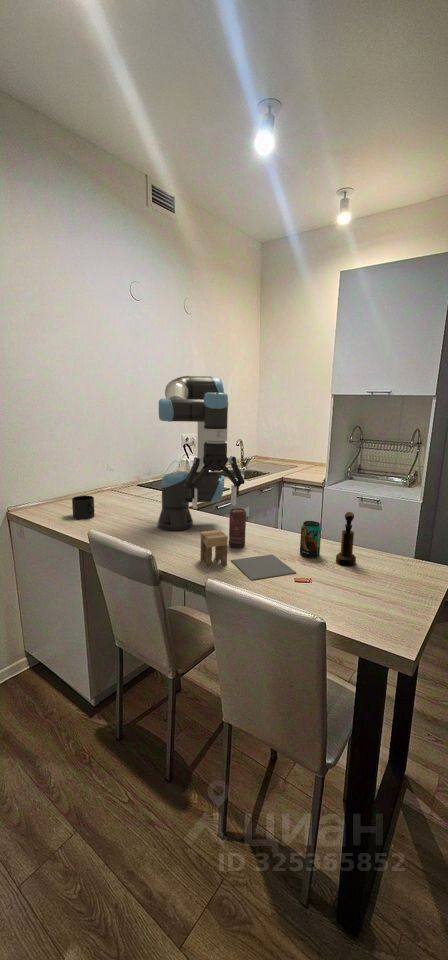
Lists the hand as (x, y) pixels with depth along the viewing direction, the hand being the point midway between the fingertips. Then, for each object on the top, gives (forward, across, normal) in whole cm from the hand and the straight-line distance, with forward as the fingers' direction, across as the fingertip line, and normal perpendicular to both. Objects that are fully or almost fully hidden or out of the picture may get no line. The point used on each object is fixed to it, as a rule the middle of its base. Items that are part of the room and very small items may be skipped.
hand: (214, 506), depth 130 cm
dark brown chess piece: (+20, +43, -15) cm, 50 cm away
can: (+20, +14, +12) cm, 27 cm away
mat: (+20, +14, -9) cm, 26 cm away
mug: (+19, -38, +68) cm, 80 cm away
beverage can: (+20, +35, -5) cm, 41 cm away
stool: (+20, 0, 0) cm, 20 cm away
